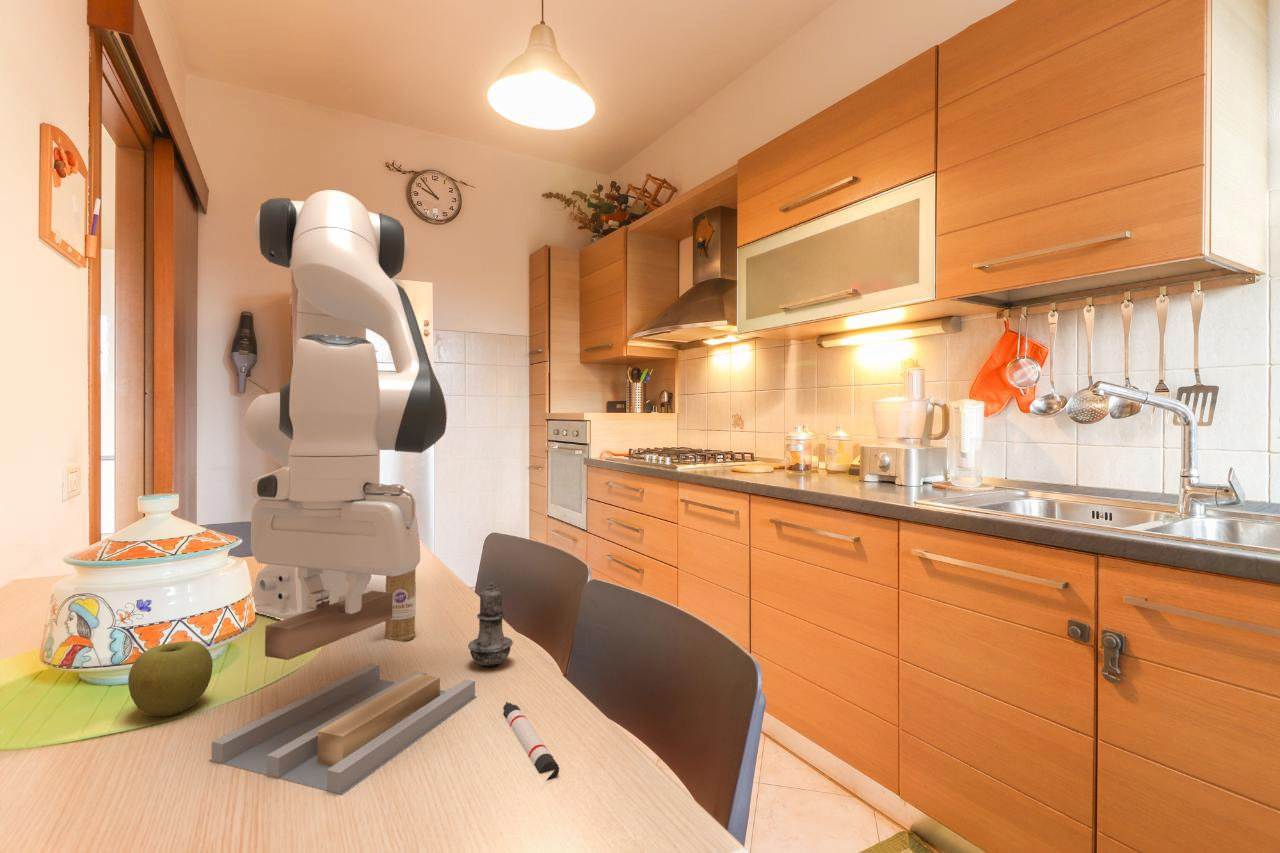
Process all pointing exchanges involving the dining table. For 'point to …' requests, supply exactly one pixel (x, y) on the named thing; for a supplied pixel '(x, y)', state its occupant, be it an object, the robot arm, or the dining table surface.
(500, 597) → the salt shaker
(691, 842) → the dining table surface
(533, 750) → the marker
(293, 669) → the dining table surface
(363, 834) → the dining table surface
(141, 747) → the dining table surface
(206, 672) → the apple
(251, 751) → the slot board
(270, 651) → the walnut rod
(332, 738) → the oak rod
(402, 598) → the sprinkles bottle
